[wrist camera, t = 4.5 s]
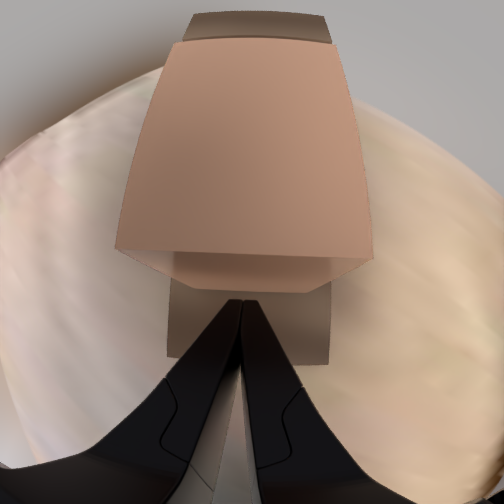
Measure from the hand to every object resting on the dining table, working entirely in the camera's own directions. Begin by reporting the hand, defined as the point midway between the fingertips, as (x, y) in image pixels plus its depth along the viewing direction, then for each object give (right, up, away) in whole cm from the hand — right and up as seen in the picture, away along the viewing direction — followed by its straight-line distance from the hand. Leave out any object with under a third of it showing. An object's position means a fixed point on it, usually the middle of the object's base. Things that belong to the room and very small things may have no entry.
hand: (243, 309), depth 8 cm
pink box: (0, +3, +8) cm, 8 cm away
